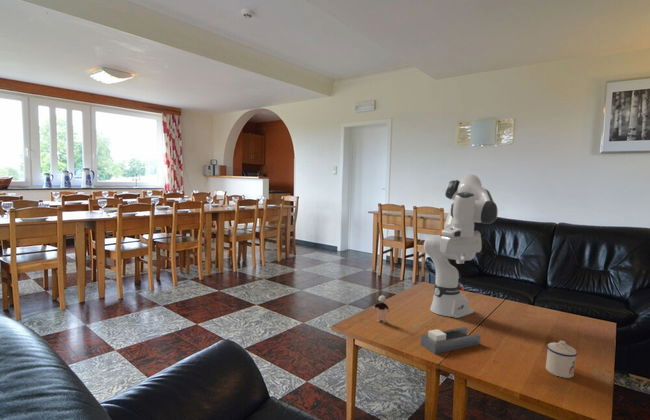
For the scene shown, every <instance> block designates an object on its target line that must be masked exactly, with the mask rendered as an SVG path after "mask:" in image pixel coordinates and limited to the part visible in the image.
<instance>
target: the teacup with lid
mask: <svg viewBox="0 0 650 420" xmlns="http://www.w3.org/2000/svg"><path fill="white" fill-rule="evenodd" d="M546 347H547V351H546V352H547V353H546V363H545V369H546V370H547V372H548V373H549V374H552V375H554V376H556V377H558V376H559V378H562V377H563V378H562V379H571V377H572V378H573V377H574V376H575V370H576V369H575V368H576V367H575V366H576V359H577V355H578V352H577V349H575V348H574V347H573V346H570V345H569V344H568V343H566V341H565V340H559V341H558V342H549V343H548V344H547V346H546Z"/></svg>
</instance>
